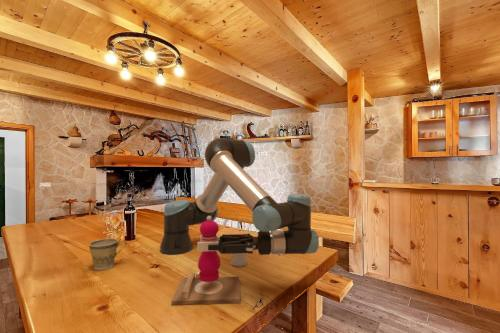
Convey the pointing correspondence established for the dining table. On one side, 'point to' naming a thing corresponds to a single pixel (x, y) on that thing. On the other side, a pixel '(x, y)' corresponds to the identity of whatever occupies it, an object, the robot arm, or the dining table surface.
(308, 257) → the dining table surface
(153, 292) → the dining table surface
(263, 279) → the dining table surface
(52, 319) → the dining table surface
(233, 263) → the flask
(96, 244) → the ceramic cup
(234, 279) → the jig board
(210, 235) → the pepper mill
